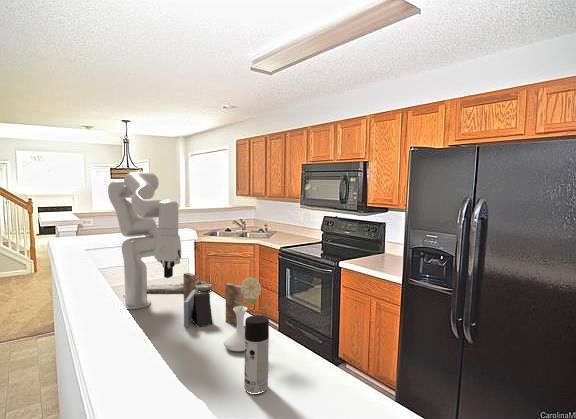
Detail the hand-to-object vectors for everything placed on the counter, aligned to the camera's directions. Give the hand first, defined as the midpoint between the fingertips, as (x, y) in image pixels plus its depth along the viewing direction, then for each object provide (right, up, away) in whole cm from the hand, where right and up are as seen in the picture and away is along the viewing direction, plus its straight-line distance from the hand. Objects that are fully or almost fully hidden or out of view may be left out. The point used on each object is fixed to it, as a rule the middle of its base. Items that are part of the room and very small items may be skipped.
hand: (168, 276), depth 138 cm
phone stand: (+12, -20, +4) cm, 24 cm away
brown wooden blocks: (+15, -19, +11) cm, 27 cm away
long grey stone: (-10, -17, +45) cm, 49 cm away
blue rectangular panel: (+7, -19, +8) cm, 21 cm away
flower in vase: (+32, -22, -17) cm, 42 cm away
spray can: (+39, -24, -41) cm, 62 cm away
